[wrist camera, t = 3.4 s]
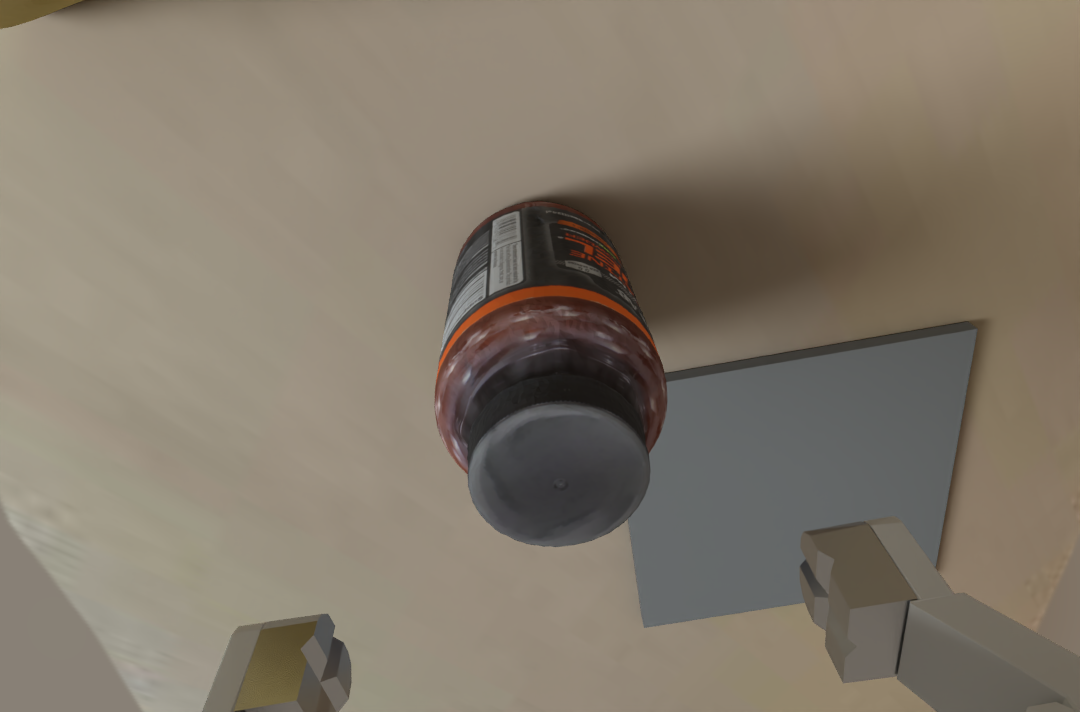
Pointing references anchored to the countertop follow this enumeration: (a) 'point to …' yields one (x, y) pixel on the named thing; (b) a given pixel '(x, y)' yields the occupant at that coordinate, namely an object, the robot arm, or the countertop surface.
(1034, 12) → the countertop surface
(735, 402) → the mat
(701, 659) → the countertop surface
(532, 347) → the supplement bottle
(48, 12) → the cheese
